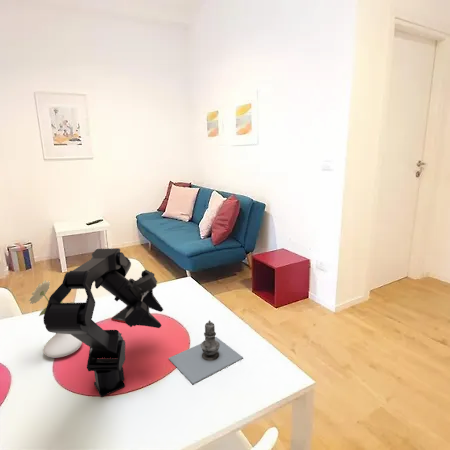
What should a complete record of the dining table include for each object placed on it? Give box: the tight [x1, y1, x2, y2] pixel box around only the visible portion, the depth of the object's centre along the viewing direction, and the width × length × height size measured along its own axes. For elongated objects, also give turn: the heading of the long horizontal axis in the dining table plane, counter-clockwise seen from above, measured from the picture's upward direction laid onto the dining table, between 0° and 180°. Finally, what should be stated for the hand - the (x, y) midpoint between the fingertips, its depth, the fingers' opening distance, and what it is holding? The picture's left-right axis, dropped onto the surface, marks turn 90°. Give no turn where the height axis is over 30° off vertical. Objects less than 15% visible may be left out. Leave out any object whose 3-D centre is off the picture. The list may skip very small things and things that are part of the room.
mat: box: [167, 336, 244, 385], centre depth 100 cm, size 18×14×1 cm
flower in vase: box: [28, 279, 83, 359], centre depth 102 cm, size 13×11×25 cm
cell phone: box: [110, 307, 132, 324], centre depth 129 cm, size 8×15×1 cm, turn 160°
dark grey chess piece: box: [200, 319, 220, 361], centre depth 100 cm, size 6×6×12 cm
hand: (161, 318), depth 98 cm, fingers open, 9 cm apart
